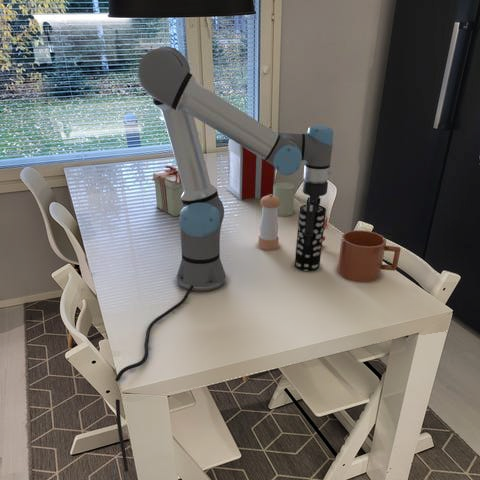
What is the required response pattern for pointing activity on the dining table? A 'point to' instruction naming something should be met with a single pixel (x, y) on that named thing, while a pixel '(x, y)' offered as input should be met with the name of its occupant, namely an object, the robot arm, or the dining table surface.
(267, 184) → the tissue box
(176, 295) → the dining table surface
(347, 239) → the terracotta coffee mug
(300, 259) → the white-spotted black cylinder
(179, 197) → the gift box
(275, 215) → the pepper shaker
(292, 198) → the can
